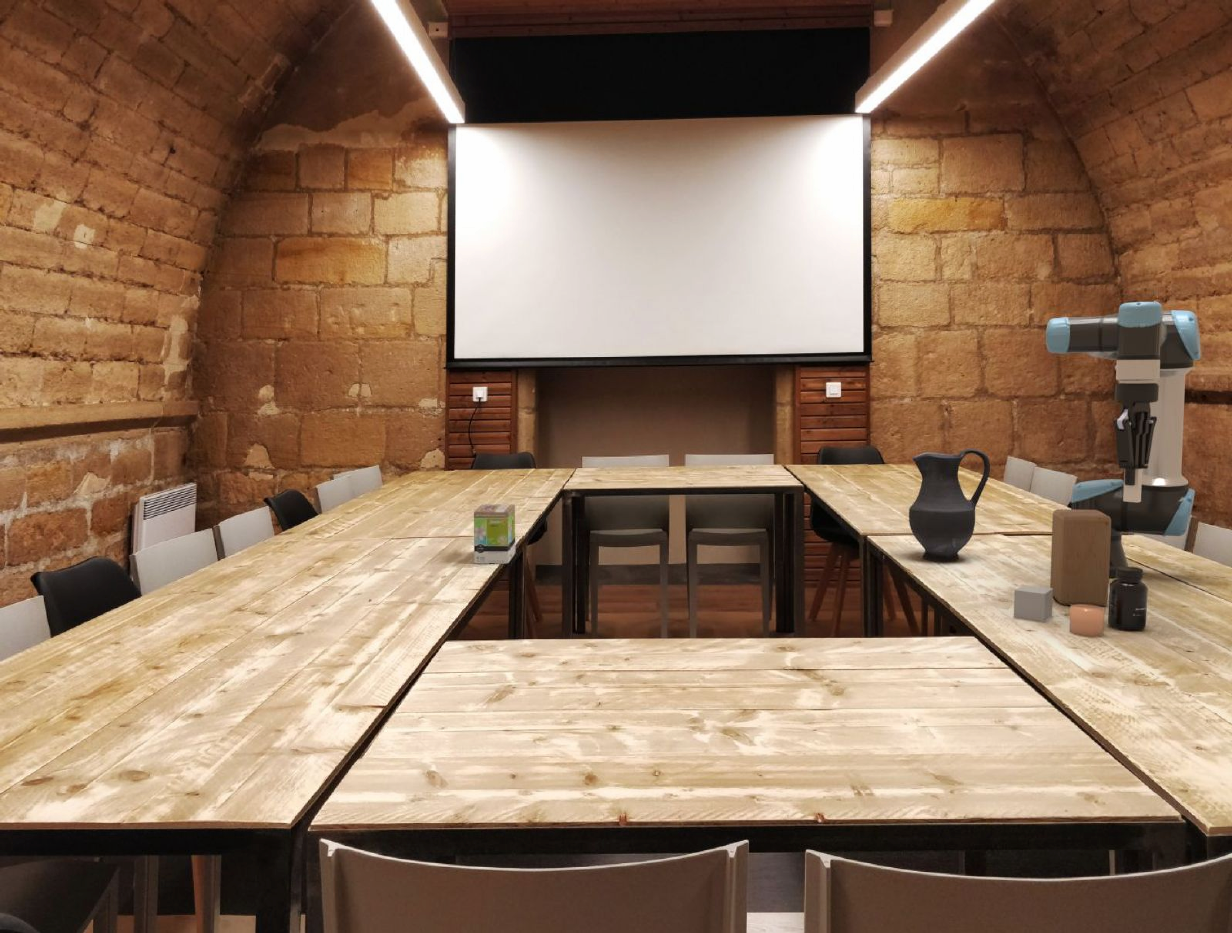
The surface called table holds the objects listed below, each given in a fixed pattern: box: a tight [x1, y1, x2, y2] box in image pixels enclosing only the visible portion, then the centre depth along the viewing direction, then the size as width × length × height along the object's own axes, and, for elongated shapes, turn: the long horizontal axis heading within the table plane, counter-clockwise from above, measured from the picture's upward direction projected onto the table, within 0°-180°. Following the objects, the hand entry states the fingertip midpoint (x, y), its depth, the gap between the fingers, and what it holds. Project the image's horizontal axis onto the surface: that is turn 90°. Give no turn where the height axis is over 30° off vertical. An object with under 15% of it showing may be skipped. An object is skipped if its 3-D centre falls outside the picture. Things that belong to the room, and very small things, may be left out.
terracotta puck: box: [1069, 604, 1105, 638], centre depth 190 cm, size 6×6×5 cm
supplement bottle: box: [1107, 565, 1149, 632], centre depth 193 cm, size 7×7×12 cm
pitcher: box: [908, 448, 991, 563], centre depth 261 cm, size 17×21×30 cm
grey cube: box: [1013, 584, 1054, 623], centre depth 202 cm, size 6×6×6 cm
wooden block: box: [1049, 508, 1111, 607], centre depth 214 cm, size 10×10×20 cm
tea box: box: [473, 504, 516, 565], centre depth 271 cm, size 15×10×15 cm
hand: (1131, 501), depth 191 cm, fingers closed
